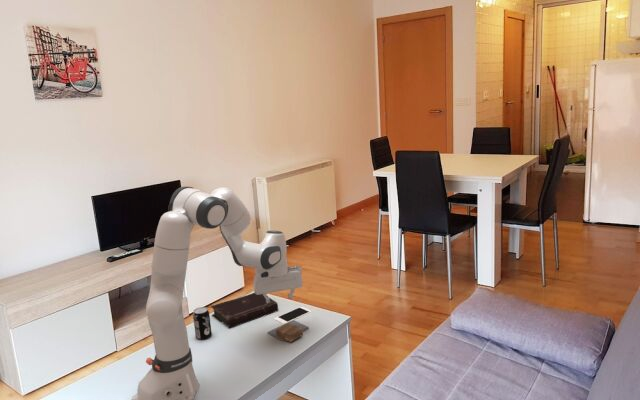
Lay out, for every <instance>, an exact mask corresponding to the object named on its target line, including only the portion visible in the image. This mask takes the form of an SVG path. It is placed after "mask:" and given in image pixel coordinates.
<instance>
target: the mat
mask: <svg viewBox="0 0 640 400" xmlns="http://www.w3.org/2000/svg"><path fill="white" fill-rule="evenodd" d="M288 323H290V324H292V325H295V326H298V327H300V328H302V331H303V332H305V331H307V330H309V329H310V328H309V326H307V325H305V324H303V323H301V322H299V321H297V320H296V319H295V320H292V321H290V322H288ZM286 324H287V323H286ZM286 324H283V323H282V324H281V325H279V326H277V327H276V328H275V327H274V328H273V329H271V330H269V331H267V335H269V336H271V337H273V338H275V339H277V340H279V341H281V342H285V341H286V340H284V339H282V338H279V337H277V333H276V329H278V328H280V327H282V326H284V325H286Z"/></svg>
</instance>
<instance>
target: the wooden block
mask: <svg viewBox="0 0 640 400" xmlns="http://www.w3.org/2000/svg"><path fill="white" fill-rule="evenodd" d="M303 332H304V331H302V328H300V327H298V326H295V325H292V324H290V323H287V324H286V325H284V326H282V327H280V328H278V329H276V333H277V337H279V338H282V339H284V340H285V341H287V342H289V343H292V342H293V341H295V340H297V339H298V338H300V337H302V336H303Z"/></svg>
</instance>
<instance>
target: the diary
mask: <svg viewBox="0 0 640 400" xmlns="http://www.w3.org/2000/svg"><path fill="white" fill-rule="evenodd" d="M266 297H269V296H268V295H267V296H266ZM269 298H270V303H266V298H265V297H264V296H263V294H260V295H257V294H255V292H253V293H249V294H246V295H242V296H240V297H238V298H234V299H229V300H226V301H222V302H219V303H216V304H213V305H212V306H210V308H211V309H212V310H213V314H211V316H212V318H214V319H216V320H217V321H218V322H220V323H223V324H225V325H226V327H228V329H231V328H234V327H236V326H239V325H242V324H244V323H248V322H250V321H253V320H256V319H259V318H261V317H264V316H266V315H270V314H273V313H275V312H278V311H279V306H278V302H277V301H275V300H274V299H272V298H271V297H269Z"/></svg>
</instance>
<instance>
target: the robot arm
mask: <svg viewBox="0 0 640 400" xmlns="http://www.w3.org/2000/svg"><path fill="white" fill-rule="evenodd" d="M167 207H168V211H167V212H164V213H163V214H162V215H161V216H160V219H159V221H158V225H157V228H156V231H155V238H154V242H153V243H154V246H153V251H152V252H153V254H152V261H151V262H152V263H151V277H150V287H149V293H148V298H147V301H146V304H145V305H146V306H145V312H146V316H147V320H148V324H149V328H150V331H151V334H152V338H153V345H154V350H155V352H154V353H155V355H154V358H153V359H152V358H151V357H147V358H146V360H145V363H146V364H147V365H149V366H151V369H149V370H148V371H147V373H146V374H145V376H143V378H141V380H140V381H139V382H138V385H137V393H136V394H135V395H133V396H132V398H131V400H194V398H195V394H196V393H197V392H198V390H199V388H200V382H199V380H198V378H197V376H196V374H195V370H194V365H193V355H192V354H193V353H192V348H191V347H190V344H189V343H190V342H189V336H188V335H189V334H188V331H187V326H186V321H185V317H184V313H183V311H184V310H183V299H184V291H185V290H184V289H185V281H186V274H187V268H188V261H189V254H190V252H189V251H190V247H191V246H190V245H191V244H190V243H191V234H192V230H193V228H194V227H195V226H196V225H197V226H200V227H202V228H203V229H210V230H211V229H216V228H219V231H220V234H221V235H222V237H223V239H224V241H225V243H226V245H227V247H228V249H229V250H230V252H231V255H232V258H233V261H234V264H236V266H238V267H247V268H248V267H249V268H253V269H255V270H254V273H255V275H254V277H253V288H252V289H253V293H255V294H257V295H260V294H263V296H264V297H265V298H266V303H270V298H271V297H269V296H268V294H270V293H271V294H272V293H277V292H282V291H287V290H290V291H289V293H287V297H288V299H289V300H292V299H293V295H294V293H295V289H300V288H302V287H303V284H304V282H303V278H302V277H303V276H302V274H303V268H302V267H301V266H299V265H293V266H292V265H290V266H289V264H288V259H287V251H288V248H287V241H286V240H287V239H286V236H285V233H284V232H283V231H280V230H267V231H265V233H264V238H263V240H262V241H261V242H260V243H256V242H250V241H247V240H245V239H244V238H243V237H242V236H241V234H243V233H244V232H246V230H247V229H248V228H249V226H250V224H251V220H252V218H251V214H250V211H249V210H248V208H247V207H246V205H245V204H244V202H243V201H242V200H241V199H240V197H239V196H238V195H237V194H236V193H235V192H234V191H233V190H232V189H230V188H229V187H225V186H221V187H217V188H215V189H214V190H213V191H212V192H210V193H208V192H207V191H204V190H201V189H197V188H194V187H192V186H181V187H179V188H177V189H175V191H174V192H173V193H172V195H171V196H170V200H169V205H168V206H167ZM266 296H268V297H266Z"/></svg>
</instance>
